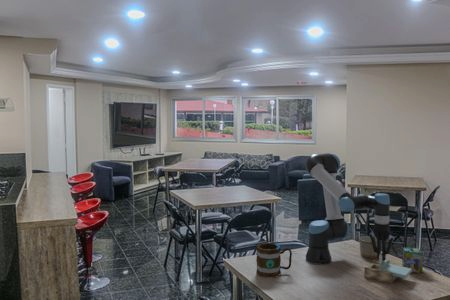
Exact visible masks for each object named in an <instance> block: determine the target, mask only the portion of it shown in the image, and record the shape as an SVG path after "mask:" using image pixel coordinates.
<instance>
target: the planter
mask: <svg viewBox="0 0 450 300" xmlns="http://www.w3.org/2000/svg"><path fill="white" fill-rule="evenodd" d="M374 237H375V241H376V246H377V238H376V236H374ZM358 240H359V253H360V255H361V257H364V258H369V259H375V258H376V259H377V253H376V252H374V250H373V246H372V241H371V238H370V236H369V235H368V236H367V235H365V236H360V237H359V239H358Z"/></svg>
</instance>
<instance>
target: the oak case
mask: <svg viewBox="0 0 450 300" xmlns="http://www.w3.org/2000/svg"><path fill="white" fill-rule="evenodd" d="M391 264H392V263H391ZM392 265H395V264H394V263H393V264H392ZM396 265H397V264H396ZM397 266H399V264H398V265H397ZM379 269H380V267H379V260H375V259H373V260H372V263H371V264H370V265H368V266H367V267H366V266H364V273H363V275H364V278H366V279H371V280H373V281H374V280H375V281H379V282H383V283H386V284H393V283H394V282H395V281H397V279H398V278H399V277H397V276H392V273H390V272H385V271H381V270H379Z"/></svg>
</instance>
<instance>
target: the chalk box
mask: <svg viewBox="0 0 450 300" xmlns="http://www.w3.org/2000/svg"><path fill="white" fill-rule="evenodd" d="M401 248H402V250H401V252H402V253H401V254H402V256H401V257H402V258H401V260H402V261H401V262H402V263H401V266H402V267H406V268H411V269H412V272H411V273H414V274H415V273H418V274H423V271H424V270H423V269H424V268H423V266H424V265H423V256H424V255H423V252H422V251H421V249H420V248H418V247H413V246H412V244H411V242H409V247H401Z"/></svg>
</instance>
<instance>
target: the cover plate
mask: <svg viewBox="0 0 450 300" xmlns="http://www.w3.org/2000/svg"><path fill="white" fill-rule="evenodd" d="M379 270H381V271H385V272H390V273H392V276H397V277H398V278H401V279H407V278H408V276H409V275H410V274H411V273H413V272H412V269H411V268H406V267H402V265H398V266H397V264H394V265H392V263H390V259H386V258H385V261H383V262H382V263H381V264H380V269H379Z"/></svg>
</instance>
